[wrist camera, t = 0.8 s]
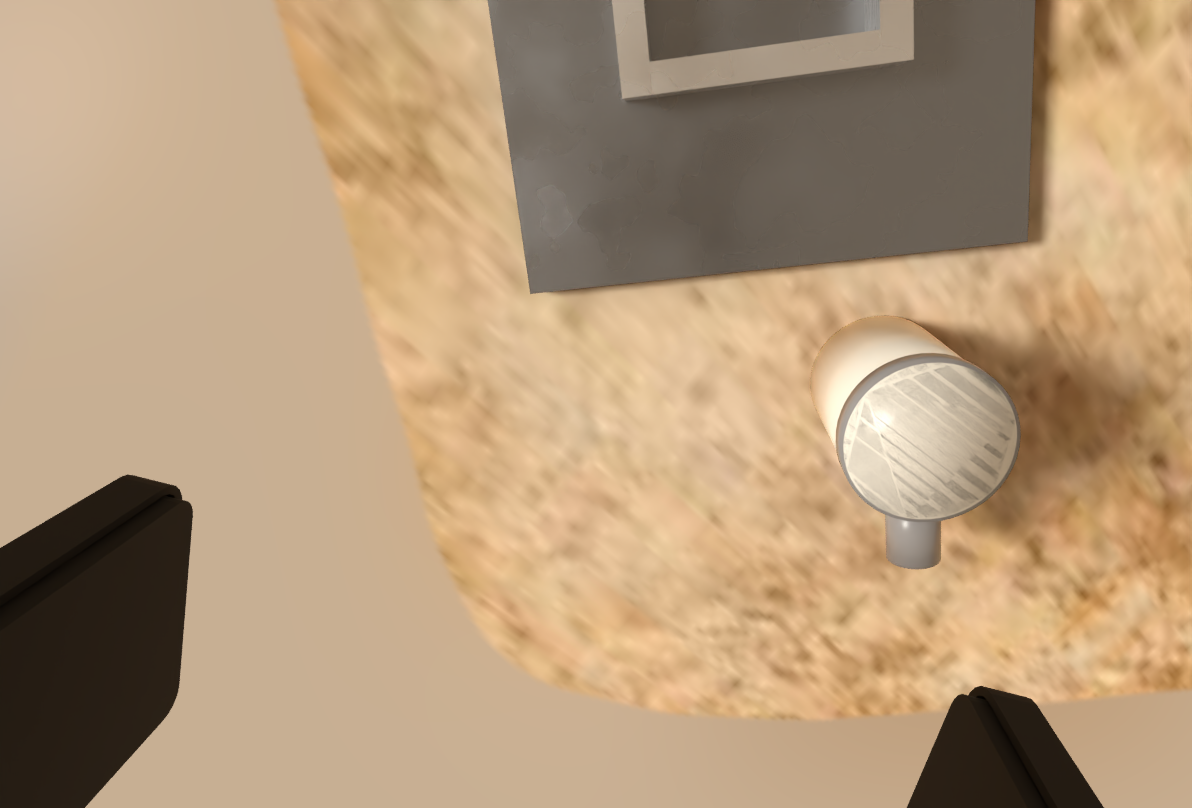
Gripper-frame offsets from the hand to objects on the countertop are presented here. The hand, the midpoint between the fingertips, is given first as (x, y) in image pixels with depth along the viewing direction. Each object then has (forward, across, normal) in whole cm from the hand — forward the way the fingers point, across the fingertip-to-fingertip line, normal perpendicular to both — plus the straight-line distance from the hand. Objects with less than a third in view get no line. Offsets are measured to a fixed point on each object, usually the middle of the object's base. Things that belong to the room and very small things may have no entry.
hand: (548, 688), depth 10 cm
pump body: (+24, -10, +1) cm, 26 cm away
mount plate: (+24, -1, -12) cm, 26 cm away
